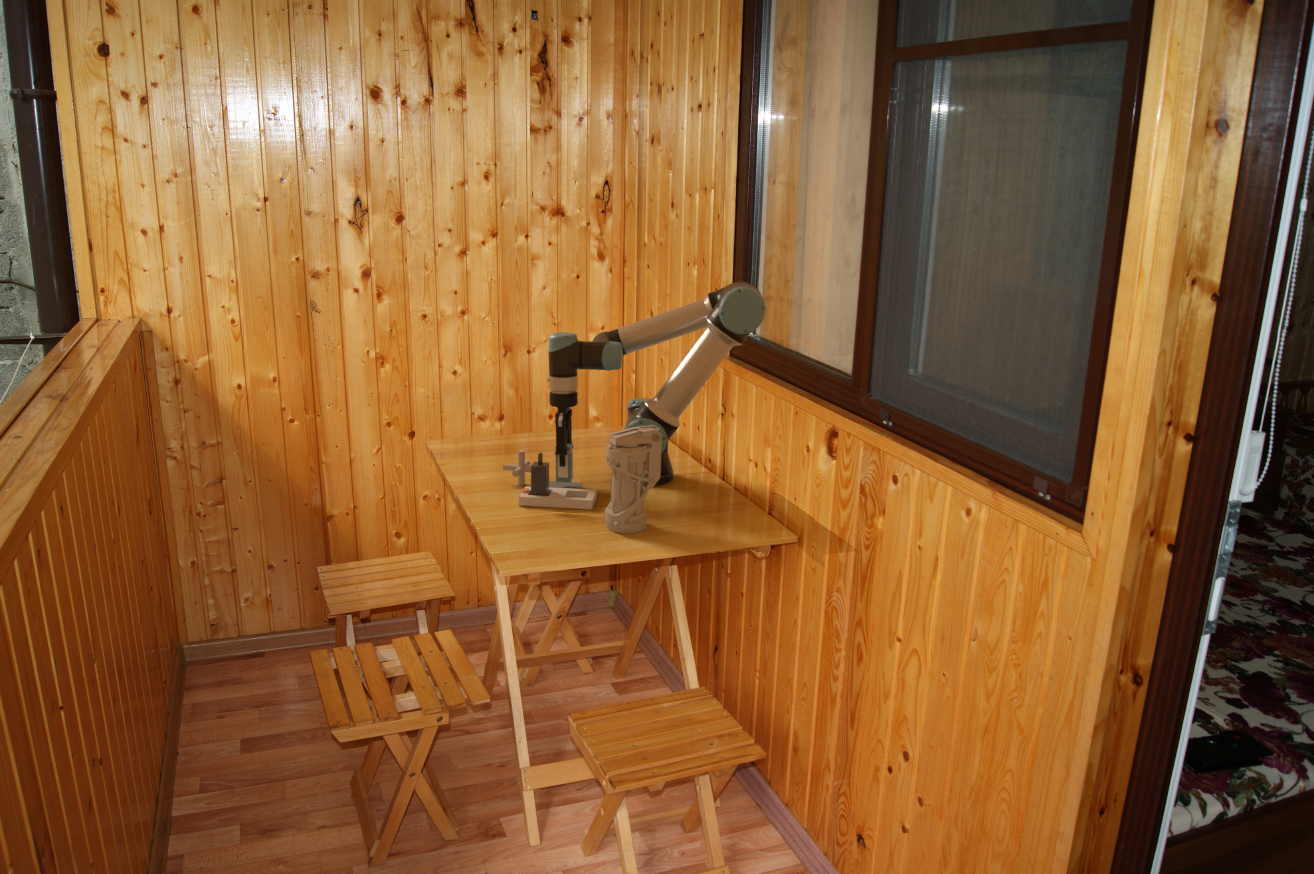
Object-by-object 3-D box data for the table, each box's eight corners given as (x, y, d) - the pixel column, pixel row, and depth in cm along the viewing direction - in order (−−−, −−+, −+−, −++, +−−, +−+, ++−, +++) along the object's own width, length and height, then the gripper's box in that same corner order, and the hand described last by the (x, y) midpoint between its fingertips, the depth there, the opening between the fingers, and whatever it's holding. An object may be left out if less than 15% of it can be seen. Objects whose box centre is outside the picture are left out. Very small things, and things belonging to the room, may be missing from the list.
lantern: (612, 535, 250) (614, 435, 244) (599, 521, 260) (601, 424, 253) (662, 530, 255) (666, 432, 248) (648, 517, 264) (651, 421, 258)
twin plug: (548, 498, 274) (549, 451, 270) (546, 503, 270) (546, 455, 266) (533, 498, 274) (534, 450, 270) (531, 502, 270) (531, 454, 267)
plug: (573, 478, 285) (572, 443, 283) (570, 482, 281) (570, 447, 279) (558, 477, 286) (557, 442, 283) (555, 482, 282) (555, 446, 279)
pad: (583, 484, 289) (583, 482, 289) (577, 495, 279) (577, 493, 279) (547, 482, 289) (547, 480, 289) (541, 493, 280) (541, 491, 280)
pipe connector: (533, 493, 280) (533, 457, 277) (498, 489, 282) (497, 454, 279) (544, 482, 289) (544, 447, 287) (510, 479, 291) (510, 444, 289)
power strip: (596, 500, 275) (596, 488, 274) (591, 511, 267) (592, 498, 266) (525, 496, 277) (525, 484, 276) (518, 507, 268) (518, 494, 267)
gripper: (554, 383, 286) (556, 465, 292) (543, 397, 269) (545, 483, 275) (581, 384, 285) (582, 466, 291) (572, 398, 269) (573, 484, 275)
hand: (564, 474), depth 283 cm, fingers closed on plug, 4 cm apart
